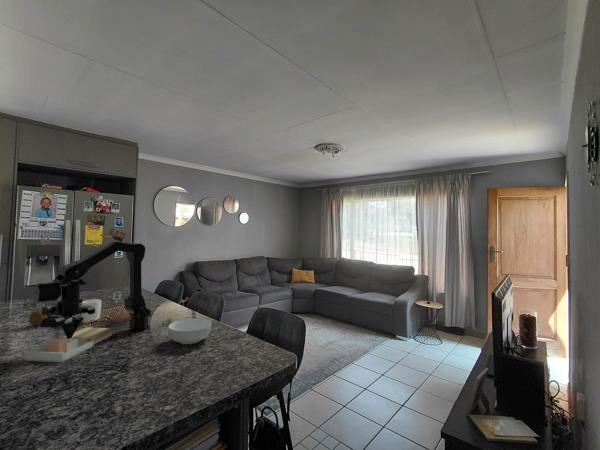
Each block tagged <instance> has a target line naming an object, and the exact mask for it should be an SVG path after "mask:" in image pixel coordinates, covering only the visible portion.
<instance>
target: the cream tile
mask: <svg viewBox="0 0 600 450" xmlns="http://www.w3.org/2000/svg"><path fill="white" fill-rule="evenodd" d="M76 347H78V339H67V338H66V352H68V351H70V350H72V349H74V348H76Z"/></svg>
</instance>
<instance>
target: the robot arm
mask: <svg viewBox="0 0 600 450" xmlns="http://www.w3.org/2000/svg"><path fill="white" fill-rule="evenodd" d="M117 252H124V253H125V257H126V258H127V261H128V264H129V265H128V266H129V294H128V297H127V298H124V306H123V308H125V311H126V312H128V313H129V315H130V317H131V318H130V320H129V321H130V324H129V329H128V331H129V332H143V331H145V330H147V329H150V327H151V326H150V325H149V317H150V316H151V314H152V311H151V310H150V309H149V308H148V307H147V306H146V302H145V298H144V296H143V294H142V291H143V290H142V263H143V260H144V258H145V256H146V255H145V254H146V247H145V245H144V244H142V243H139V242H138V243H136V242H131V243H127V242H121V241H119V240H118V241H117V240H113V241H111V242H110V243H108V244H106V245H105V246H103V247H101V248H100V249H98V250H96V251H94V252H93V253H91V254H89V255H88V256H85V257H83V258H82V259H79V260H76V261H73V262H69V263H68V264H64V265H63V266H62V267H61V268H60V270H59V273H58V274H57V275H56V277H54V279H53V280H52V282H45V283H43V282H38V283H36V286H35V288H34V291H33V301H34V302H35V303H36V304H38V303H45V302H52V301H57V300H58V299H59V298H60V300H59V301H57V303H56V305H54V306H51V305H46V306H44V307H41V310H42V315H43V316H45V315H47V318H44V319H43V320H42V321H41V325H40V326H39V327H40V328H50V329H51V328H52V329H53V328H59V327H61V329H62V330H63V332H64V335H65V336H66V337H67V339H70V338H72V336H73V334H74V333H75V332H76V331H77V330H78V327H79V326H80V325H81V322H83V319H84V318H83V317H82V316H81V315H82V314H84V313H88V314H89V315H91V314H94V313H95V308H94V306H82V305H81V304H80V303H82V302H83V301H84V299H83V298H81V286H83V285H87V284H88V283H87V282H86V281H85V280H83V279H82V277H83V276H85V275H86V274H87V273H88V272H89V270H90V269H92V267H94V266H96V265H97V264H99V263H100V262H103V261H104V260H105V259H106V258H108V257H110V256H112V255H113V254H115V253H117ZM80 305H81V306H80Z"/></svg>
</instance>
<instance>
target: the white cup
mask: <svg viewBox="0 0 600 450" xmlns="http://www.w3.org/2000/svg"><path fill="white" fill-rule="evenodd" d="M81 306H94V308H95V313H94V314H91V315H89V314H88V313H84V314H81V315H82V316H81V318H84V319H83V320H82V324H85V323H84V322H86V321H89V320H97V319H99V318H101V312H102V311H101V310H102V300H101V299H99V298H98V299H87V300H83V302H81Z"/></svg>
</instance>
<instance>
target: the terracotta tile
mask: <svg viewBox="0 0 600 450" xmlns="http://www.w3.org/2000/svg"><path fill="white" fill-rule="evenodd" d="M45 346H46V352H62V353H65V352H66V338H63V337H61V338H60V337H58V338H57V337H53V338H50V339H48V340H45Z"/></svg>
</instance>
